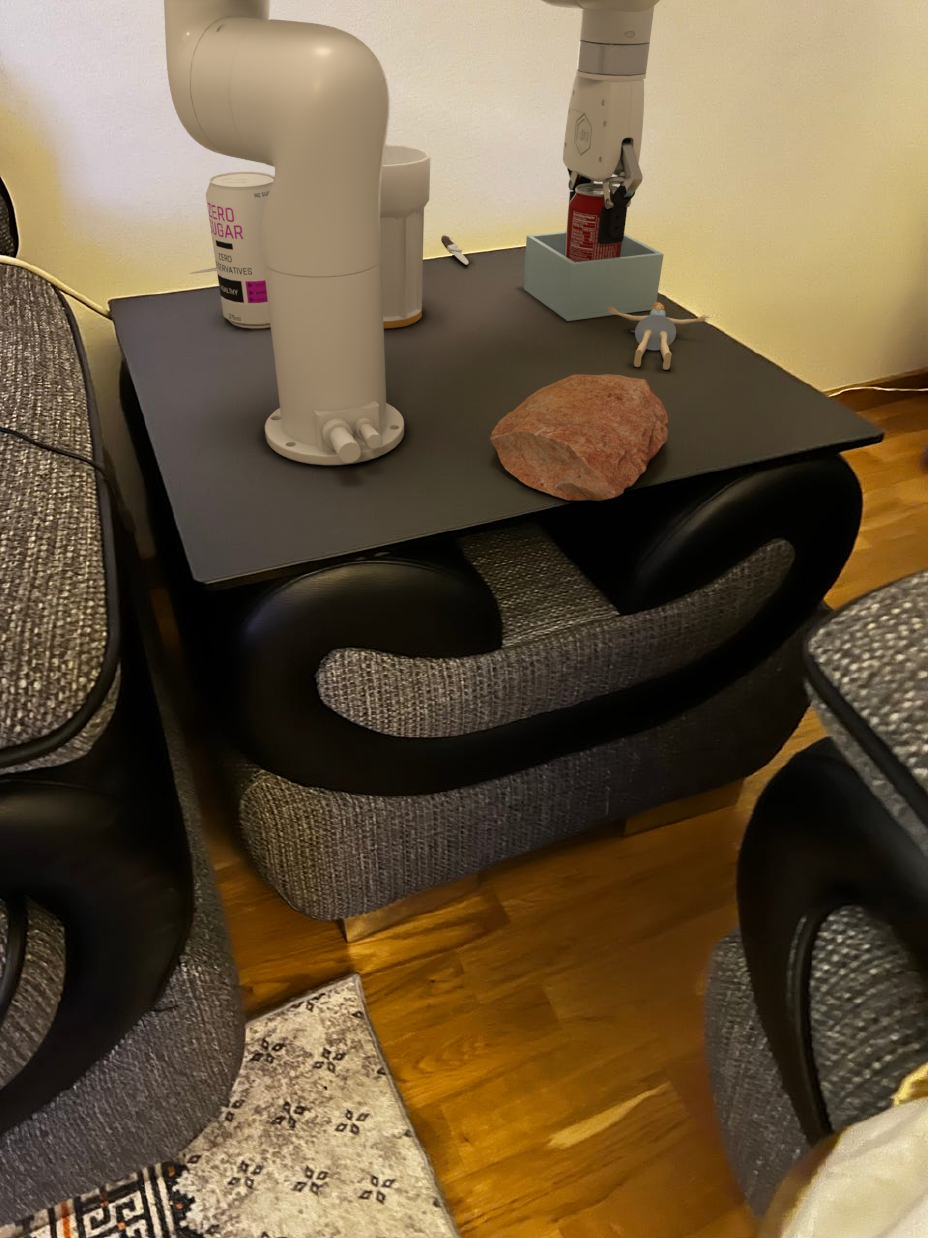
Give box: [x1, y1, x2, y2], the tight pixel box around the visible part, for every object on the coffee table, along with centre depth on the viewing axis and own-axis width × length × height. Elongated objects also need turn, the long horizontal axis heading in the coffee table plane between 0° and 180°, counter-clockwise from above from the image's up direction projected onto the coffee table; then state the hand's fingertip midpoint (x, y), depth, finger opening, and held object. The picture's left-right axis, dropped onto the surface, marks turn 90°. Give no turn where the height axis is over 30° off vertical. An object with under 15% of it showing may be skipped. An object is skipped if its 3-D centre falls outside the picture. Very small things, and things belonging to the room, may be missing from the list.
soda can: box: [564, 182, 622, 262], centre depth 109 cm, size 7×7×12 cm
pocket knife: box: [440, 234, 470, 266], centre depth 127 cm, size 14×1×2 cm
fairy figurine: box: [607, 301, 710, 371], centre depth 100 cm, size 12×5×12 cm
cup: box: [380, 143, 431, 330], centre depth 102 cm, size 11×11×17 cm
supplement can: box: [205, 171, 275, 329], centre depth 101 cm, size 8×8×15 cm
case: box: [523, 231, 665, 322], centre depth 111 cm, size 12×12×7 cm
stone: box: [489, 373, 669, 502], centre depth 80 cm, size 14×6×20 cm
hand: (594, 232), depth 109 cm, fingers closed on soda can, 6 cm apart
